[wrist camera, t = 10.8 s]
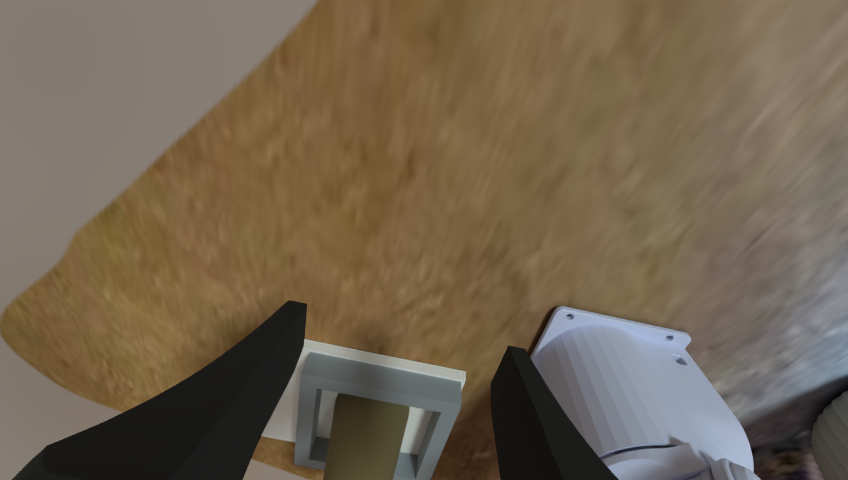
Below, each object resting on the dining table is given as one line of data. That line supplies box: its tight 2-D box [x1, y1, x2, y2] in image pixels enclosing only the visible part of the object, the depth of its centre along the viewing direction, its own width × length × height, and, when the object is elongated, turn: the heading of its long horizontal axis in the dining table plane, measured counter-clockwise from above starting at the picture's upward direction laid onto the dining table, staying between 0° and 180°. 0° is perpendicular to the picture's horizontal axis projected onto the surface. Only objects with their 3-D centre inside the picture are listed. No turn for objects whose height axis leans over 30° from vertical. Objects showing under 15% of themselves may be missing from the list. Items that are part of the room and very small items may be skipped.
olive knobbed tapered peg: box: [323, 393, 410, 480], centre depth 25 cm, size 6×6×11 cm
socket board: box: [261, 339, 466, 480], centre depth 30 cm, size 16×12×3 cm
